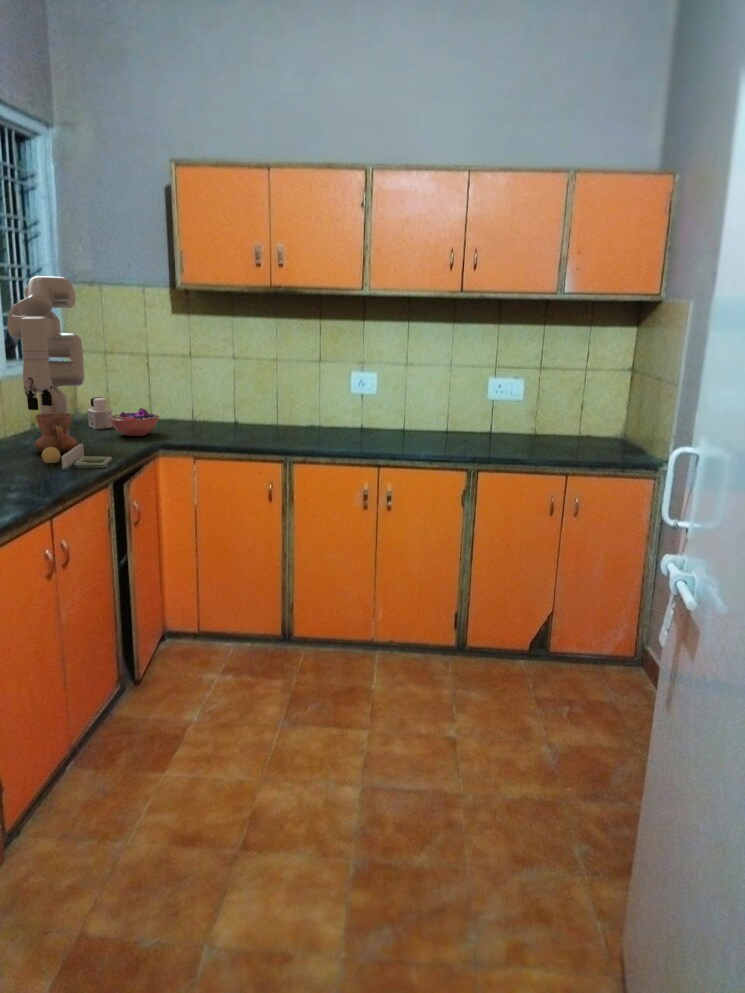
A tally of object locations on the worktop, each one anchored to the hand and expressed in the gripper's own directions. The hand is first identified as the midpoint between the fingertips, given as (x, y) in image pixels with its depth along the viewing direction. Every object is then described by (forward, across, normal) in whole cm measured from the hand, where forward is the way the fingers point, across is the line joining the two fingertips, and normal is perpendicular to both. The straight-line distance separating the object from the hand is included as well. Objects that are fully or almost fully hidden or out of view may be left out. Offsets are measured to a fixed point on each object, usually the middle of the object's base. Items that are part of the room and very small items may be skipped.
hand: (40, 407), depth 230 cm
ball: (+17, -2, +1) cm, 17 cm away
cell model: (+20, -56, +12) cm, 60 cm away
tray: (+20, -4, +15) cm, 25 cm away
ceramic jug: (+20, -20, -5) cm, 28 cm away
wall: (+20, -4, +8) cm, 22 cm away
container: (+20, -70, -9) cm, 74 cm away
